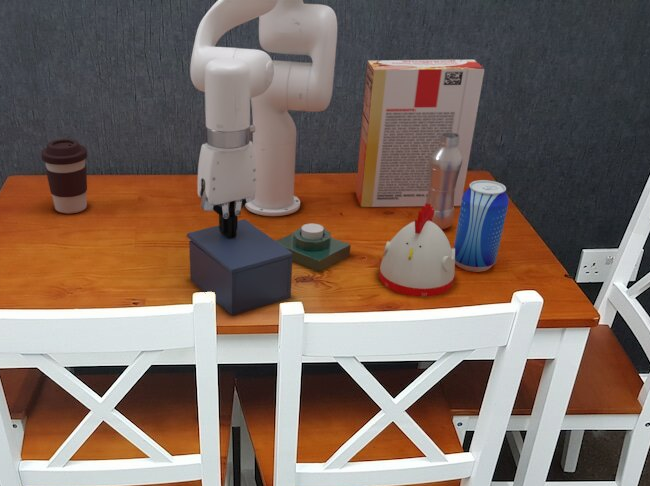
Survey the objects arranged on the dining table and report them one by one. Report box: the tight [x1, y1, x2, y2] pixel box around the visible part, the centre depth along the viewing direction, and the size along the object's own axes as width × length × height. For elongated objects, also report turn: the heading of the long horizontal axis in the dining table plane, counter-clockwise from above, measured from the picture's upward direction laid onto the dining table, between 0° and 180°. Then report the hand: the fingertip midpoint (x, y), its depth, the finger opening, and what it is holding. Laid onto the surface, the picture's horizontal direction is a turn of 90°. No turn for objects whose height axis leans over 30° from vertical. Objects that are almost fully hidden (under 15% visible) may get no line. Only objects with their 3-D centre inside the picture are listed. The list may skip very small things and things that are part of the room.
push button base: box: [275, 227, 351, 273], centre depth 158 cm, size 12×10×4 cm
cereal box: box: [355, 59, 485, 208], centre depth 174 cm, size 23×8×30 cm, turn 91°
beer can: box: [453, 179, 510, 273], centre depth 151 cm, size 8×8×16 cm
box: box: [188, 240, 293, 317], centre depth 145 cm, size 16×13×8 cm
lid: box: [186, 219, 293, 273], centre depth 143 cm, size 16×13×1 cm
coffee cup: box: [40, 138, 88, 215], centre depth 175 cm, size 10×10×15 cm
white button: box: [301, 222, 325, 240], centre depth 156 cm, size 4×4×2 cm
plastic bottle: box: [426, 132, 462, 230], centre depth 164 cm, size 6×7×20 cm
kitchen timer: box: [378, 203, 456, 298], centre depth 146 cm, size 14×14×15 cm
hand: (228, 234), depth 145 cm, fingers closed
